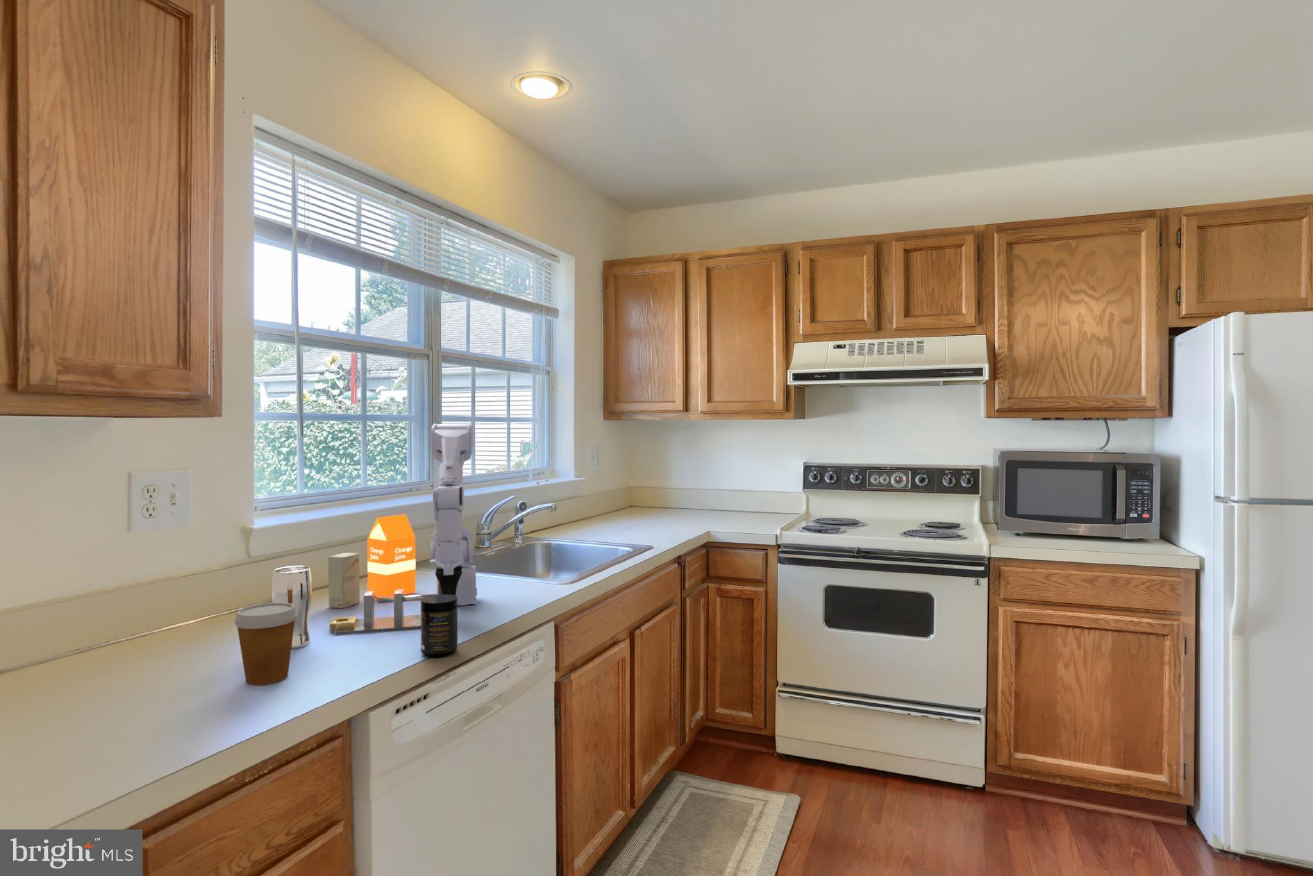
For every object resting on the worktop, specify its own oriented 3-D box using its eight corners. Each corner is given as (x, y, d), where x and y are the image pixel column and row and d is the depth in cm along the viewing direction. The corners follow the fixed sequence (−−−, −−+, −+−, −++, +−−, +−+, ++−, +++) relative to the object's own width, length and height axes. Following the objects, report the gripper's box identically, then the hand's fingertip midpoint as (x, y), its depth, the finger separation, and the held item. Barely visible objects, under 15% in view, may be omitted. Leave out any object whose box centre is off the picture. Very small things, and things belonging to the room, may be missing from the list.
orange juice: (367, 595, 177) (366, 516, 176) (396, 588, 184) (396, 513, 184) (387, 599, 173) (386, 519, 172) (416, 591, 180) (415, 515, 180)
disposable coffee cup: (253, 693, 112) (253, 619, 112) (223, 682, 117) (222, 611, 117) (310, 675, 120) (309, 606, 120) (279, 665, 125) (278, 599, 125)
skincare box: (344, 608, 164) (343, 557, 163) (327, 607, 165) (327, 556, 164) (360, 602, 170) (360, 552, 170) (344, 601, 171) (344, 551, 170)
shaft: (449, 605, 155) (449, 581, 155) (449, 608, 153) (449, 583, 152) (379, 610, 151) (379, 585, 151) (378, 613, 148) (377, 588, 148)
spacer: (357, 616, 151) (333, 617, 149) (353, 622, 146) (329, 624, 145) (357, 621, 151) (333, 623, 150) (353, 628, 146) (329, 630, 145)
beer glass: (320, 642, 139) (319, 567, 138) (289, 652, 132) (288, 574, 132) (296, 637, 142) (295, 564, 141) (264, 647, 135) (263, 570, 135)
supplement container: (463, 654, 132) (463, 599, 131) (428, 661, 127) (427, 605, 127) (450, 645, 137) (449, 592, 137) (415, 652, 133) (415, 597, 133)
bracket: (428, 616, 157) (428, 585, 157) (427, 628, 148) (426, 594, 148) (342, 623, 152) (342, 590, 152) (335, 635, 143) (335, 600, 143)
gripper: (431, 535, 159) (431, 594, 159) (428, 546, 145) (428, 610, 146) (463, 534, 161) (463, 592, 161) (463, 544, 147) (463, 608, 147)
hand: (449, 601), depth 154 cm, fingers closed on shaft, 2 cm apart
